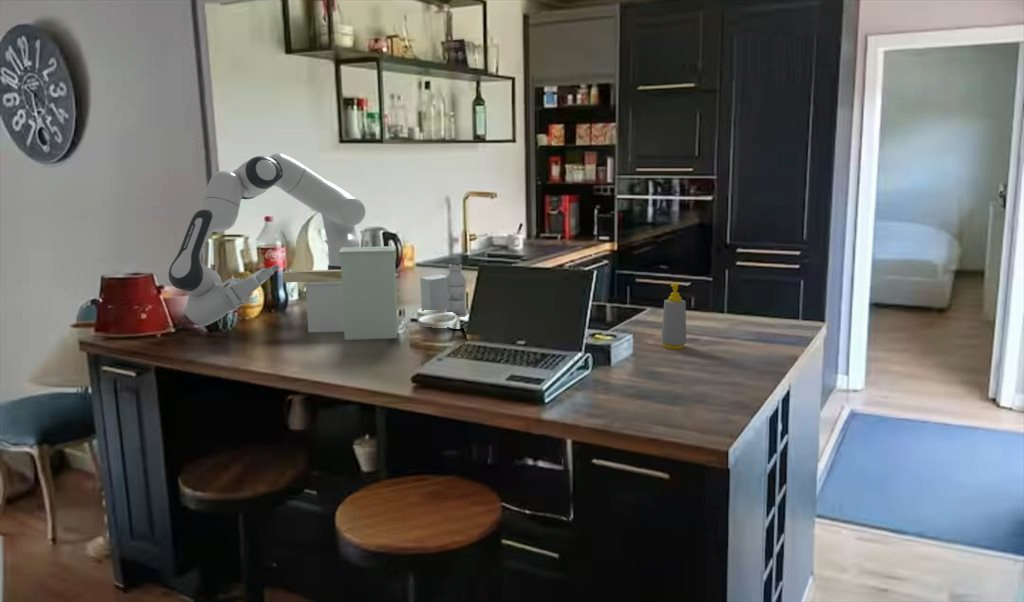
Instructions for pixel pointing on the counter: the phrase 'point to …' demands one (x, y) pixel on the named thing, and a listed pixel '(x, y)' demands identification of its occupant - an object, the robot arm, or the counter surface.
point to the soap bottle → (674, 321)
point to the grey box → (324, 306)
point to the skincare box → (433, 293)
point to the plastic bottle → (456, 290)
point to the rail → (312, 276)
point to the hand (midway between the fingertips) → (275, 268)
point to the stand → (369, 292)
